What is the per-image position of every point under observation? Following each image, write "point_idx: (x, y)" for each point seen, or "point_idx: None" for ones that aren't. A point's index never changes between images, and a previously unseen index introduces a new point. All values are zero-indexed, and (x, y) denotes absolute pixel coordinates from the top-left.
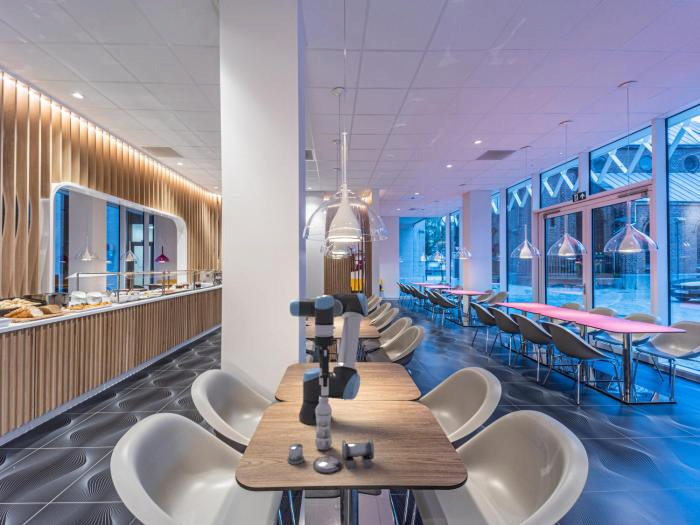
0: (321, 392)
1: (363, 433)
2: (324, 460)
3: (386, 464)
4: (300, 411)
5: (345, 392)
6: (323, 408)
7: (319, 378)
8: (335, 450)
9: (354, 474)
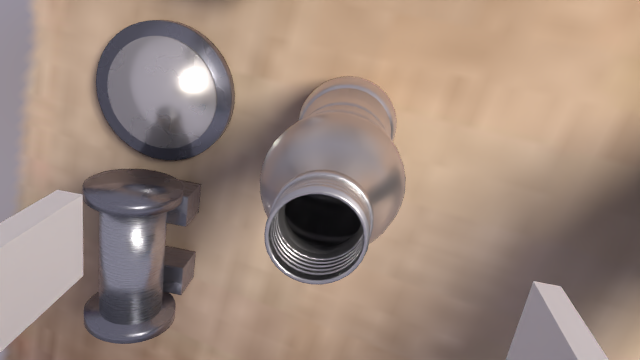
0: (35, 205)
1: (447, 352)
2: (180, 85)
3: None
4: None
5: None
6: (267, 182)
7: (567, 342)
8: None
9: None
